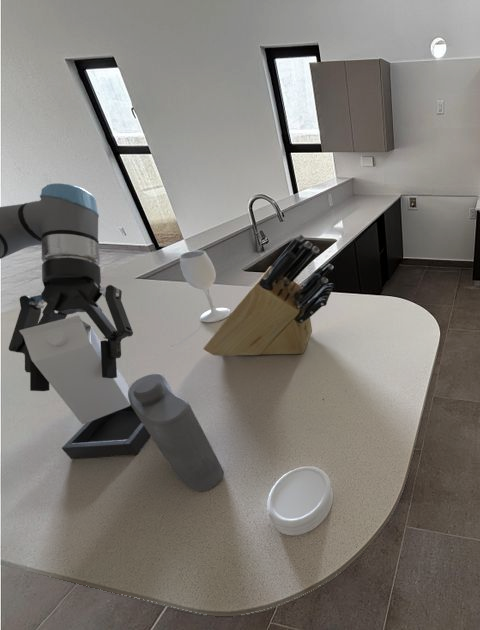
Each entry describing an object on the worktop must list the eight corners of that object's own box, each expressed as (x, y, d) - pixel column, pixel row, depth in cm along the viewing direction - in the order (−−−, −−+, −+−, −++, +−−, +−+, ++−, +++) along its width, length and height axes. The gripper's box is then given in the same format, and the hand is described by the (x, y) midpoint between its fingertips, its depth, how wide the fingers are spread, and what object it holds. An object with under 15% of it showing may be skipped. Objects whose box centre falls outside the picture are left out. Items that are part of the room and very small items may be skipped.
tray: (70, 459, 63) (61, 448, 61) (115, 410, 73) (108, 400, 71) (137, 455, 64) (129, 444, 62) (172, 407, 74) (166, 397, 72)
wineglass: (197, 315, 108) (172, 253, 97) (226, 306, 113) (205, 246, 102) (204, 325, 102) (178, 262, 91) (234, 316, 107) (212, 254, 96)
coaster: (266, 494, 57) (261, 482, 55) (323, 467, 61) (320, 455, 60) (277, 550, 50) (272, 538, 48) (341, 515, 54) (339, 503, 52)
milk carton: (83, 402, 65) (22, 321, 55) (128, 386, 69) (79, 307, 59) (82, 425, 60) (15, 340, 50) (131, 406, 64) (78, 324, 54)
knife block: (338, 355, 90) (320, 245, 74) (206, 358, 89) (158, 247, 73) (344, 332, 99) (330, 230, 83) (225, 334, 98) (187, 231, 82)
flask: (161, 454, 64) (110, 375, 53) (193, 434, 68) (152, 357, 57) (194, 502, 56) (142, 421, 46) (229, 476, 60) (188, 396, 49)
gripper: (151, 264, 69) (159, 371, 64) (15, 279, 62) (14, 399, 58) (129, 248, 61) (137, 367, 57) (-26, 264, 55) (-30, 398, 51)
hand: (75, 383), depth 57 cm, fingers closed on milk carton, 9 cm apart
